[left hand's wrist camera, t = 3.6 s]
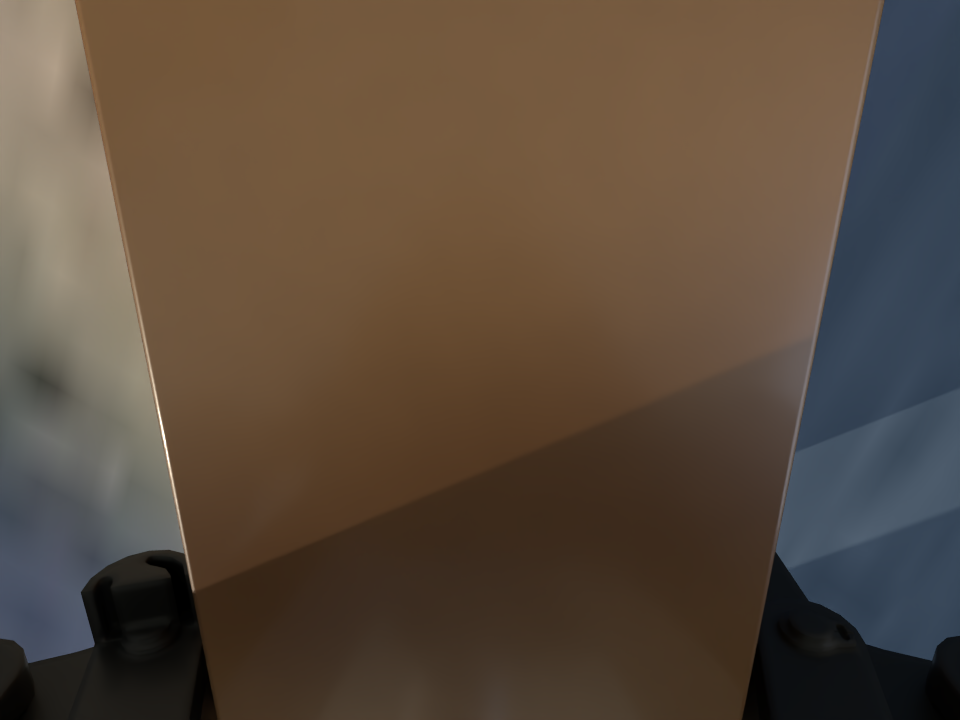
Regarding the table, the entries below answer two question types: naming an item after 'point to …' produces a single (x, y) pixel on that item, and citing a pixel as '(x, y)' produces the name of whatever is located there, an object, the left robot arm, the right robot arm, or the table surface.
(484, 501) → the brown box
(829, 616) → the left robot arm
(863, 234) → the table surface
